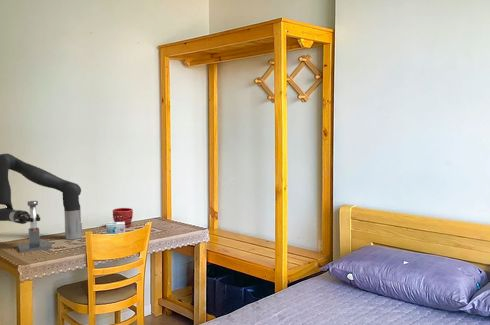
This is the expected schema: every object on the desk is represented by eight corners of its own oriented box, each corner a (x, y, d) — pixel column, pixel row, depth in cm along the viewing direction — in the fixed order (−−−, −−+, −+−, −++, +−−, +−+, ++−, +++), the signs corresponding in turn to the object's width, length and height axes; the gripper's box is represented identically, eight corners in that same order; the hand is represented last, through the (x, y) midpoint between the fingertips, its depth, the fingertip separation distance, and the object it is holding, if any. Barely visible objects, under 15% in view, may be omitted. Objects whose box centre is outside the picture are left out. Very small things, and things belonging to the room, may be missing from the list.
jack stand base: (47, 242, 270) (47, 224, 269) (51, 248, 256) (51, 229, 255) (17, 246, 262) (16, 228, 261) (20, 252, 248) (19, 233, 247)
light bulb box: (106, 243, 267) (105, 224, 267) (106, 240, 274) (106, 222, 273) (125, 241, 270) (124, 223, 270) (125, 239, 277) (124, 221, 276)
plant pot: (109, 228, 308) (108, 210, 307) (120, 224, 321) (119, 207, 320) (126, 229, 304) (126, 211, 303) (136, 225, 317) (136, 208, 316)
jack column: (38, 242, 262) (37, 200, 261) (40, 244, 258) (38, 201, 256) (28, 243, 260) (27, 201, 258) (29, 245, 255) (27, 202, 254)
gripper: (6, 212, 260) (23, 215, 250) (30, 208, 271) (47, 211, 262) (7, 225, 260) (24, 228, 251) (31, 221, 272) (48, 224, 262)
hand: (36, 219), depth 256 cm, fingers closed on jack column, 3 cm apart
